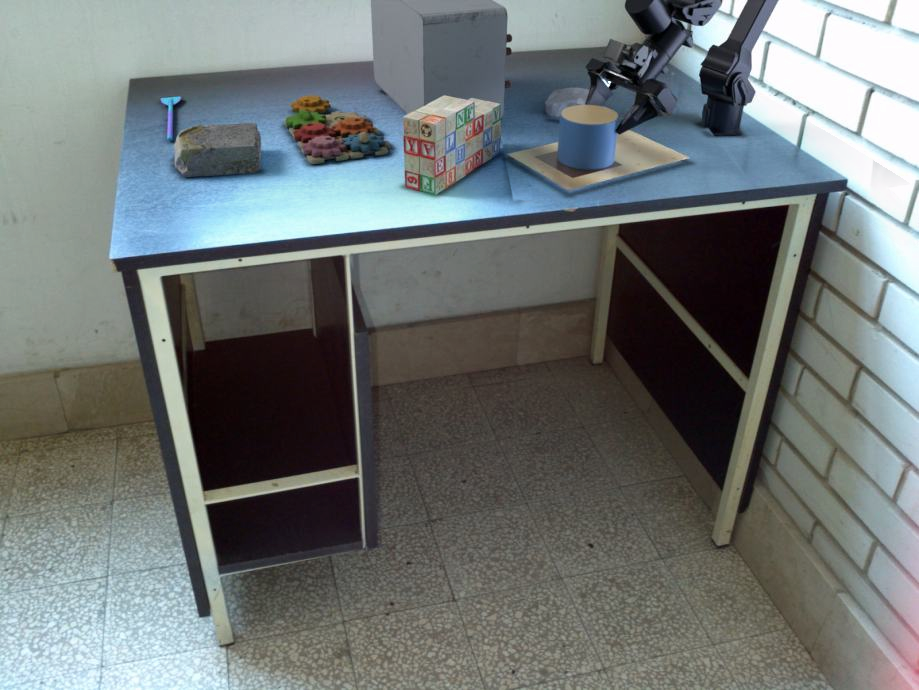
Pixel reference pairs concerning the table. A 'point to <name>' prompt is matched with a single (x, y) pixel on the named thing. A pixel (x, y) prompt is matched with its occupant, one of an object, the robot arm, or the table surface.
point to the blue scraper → (170, 114)
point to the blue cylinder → (587, 137)
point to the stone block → (565, 100)
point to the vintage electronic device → (440, 50)
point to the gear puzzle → (332, 132)
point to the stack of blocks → (449, 141)
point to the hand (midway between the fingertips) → (599, 124)
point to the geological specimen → (218, 150)
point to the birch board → (628, 159)
